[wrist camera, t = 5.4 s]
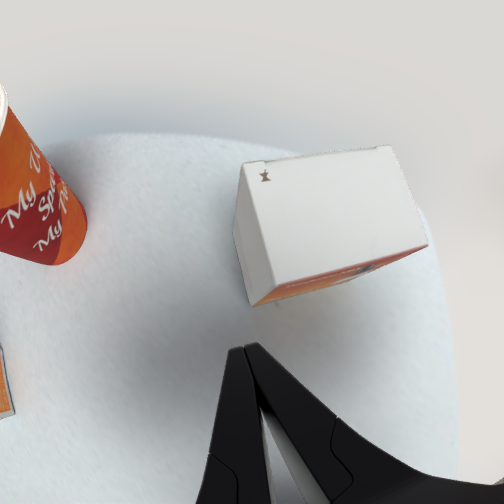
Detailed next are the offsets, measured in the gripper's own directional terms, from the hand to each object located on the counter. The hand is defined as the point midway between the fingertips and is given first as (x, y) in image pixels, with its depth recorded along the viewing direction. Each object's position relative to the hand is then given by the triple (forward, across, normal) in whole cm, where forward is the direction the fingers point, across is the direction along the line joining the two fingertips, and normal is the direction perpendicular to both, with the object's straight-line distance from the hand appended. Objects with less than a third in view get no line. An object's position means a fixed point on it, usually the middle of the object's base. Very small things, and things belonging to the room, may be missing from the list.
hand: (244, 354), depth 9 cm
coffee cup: (+18, +12, +2) cm, 21 cm away
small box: (+13, -6, +6) cm, 15 cm away
